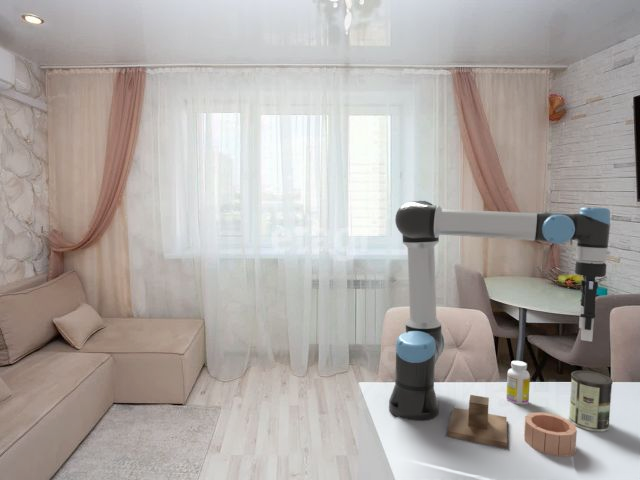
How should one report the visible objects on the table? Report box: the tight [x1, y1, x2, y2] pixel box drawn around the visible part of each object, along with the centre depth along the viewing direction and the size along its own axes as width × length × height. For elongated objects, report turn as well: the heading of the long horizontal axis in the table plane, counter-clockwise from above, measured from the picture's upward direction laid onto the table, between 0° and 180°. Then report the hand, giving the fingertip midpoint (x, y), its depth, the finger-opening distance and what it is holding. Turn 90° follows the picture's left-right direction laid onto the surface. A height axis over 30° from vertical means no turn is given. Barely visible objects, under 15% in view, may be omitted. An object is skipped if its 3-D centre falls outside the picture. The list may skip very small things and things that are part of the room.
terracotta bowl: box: [523, 412, 578, 457], centre depth 118 cm, size 12×12×6 cm
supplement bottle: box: [506, 360, 531, 405], centre depth 144 cm, size 7×7×13 cm
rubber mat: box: [444, 410, 510, 451], centre depth 125 cm, size 16×16×1 cm
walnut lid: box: [447, 394, 508, 448], centre depth 125 cm, size 15×15×8 cm
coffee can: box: [568, 370, 614, 433], centre depth 130 cm, size 10×10×14 cm
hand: (585, 334), depth 128 cm, fingers open, 13 cm apart
